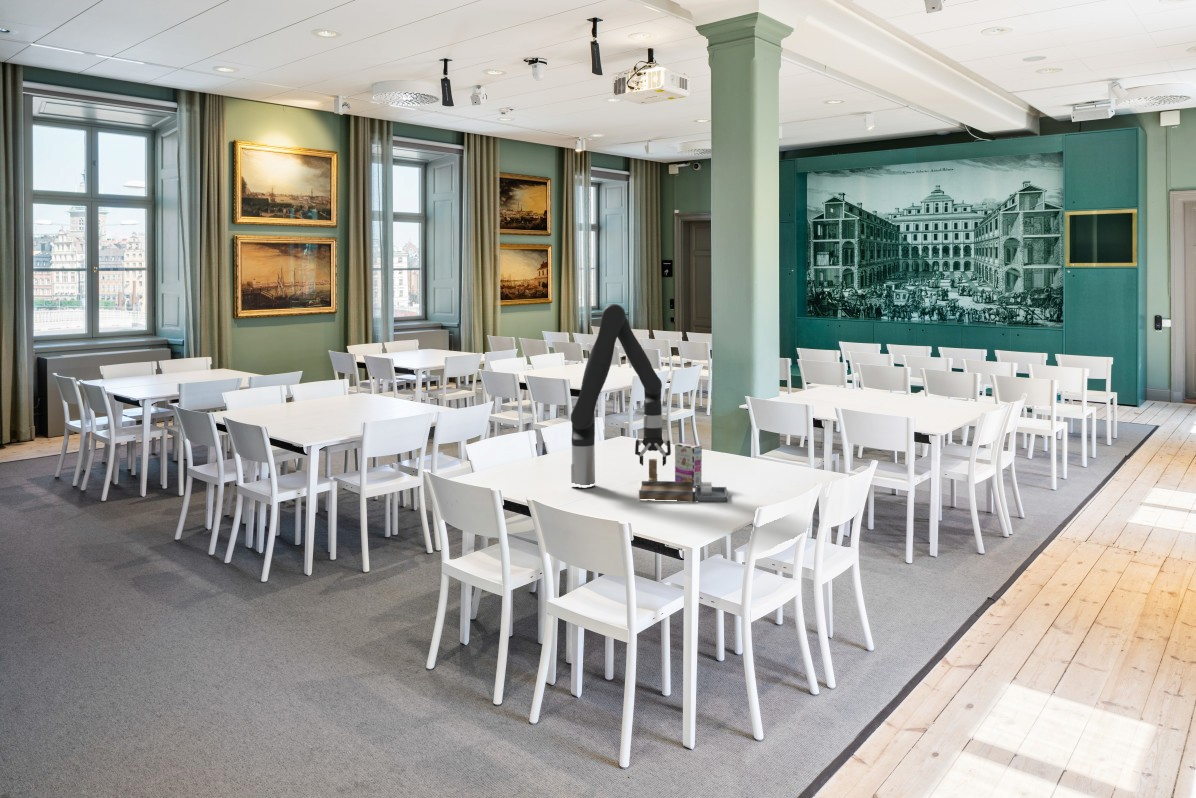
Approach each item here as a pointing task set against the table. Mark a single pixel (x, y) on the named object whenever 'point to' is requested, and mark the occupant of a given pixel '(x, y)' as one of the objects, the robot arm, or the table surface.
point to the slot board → (666, 490)
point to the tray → (717, 495)
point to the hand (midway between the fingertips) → (652, 465)
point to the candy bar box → (688, 463)
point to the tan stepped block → (652, 470)
